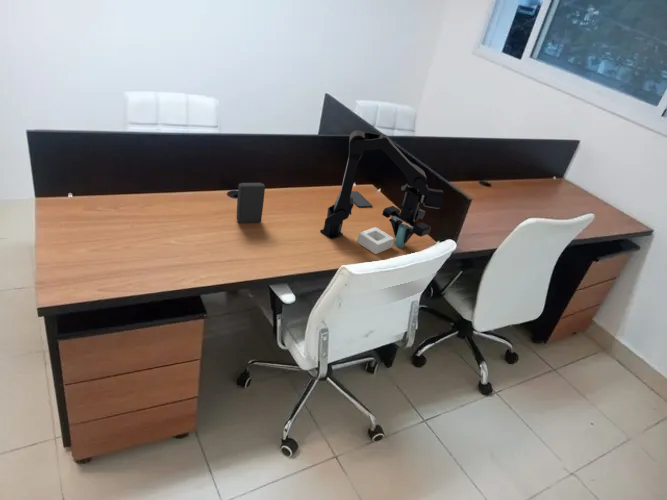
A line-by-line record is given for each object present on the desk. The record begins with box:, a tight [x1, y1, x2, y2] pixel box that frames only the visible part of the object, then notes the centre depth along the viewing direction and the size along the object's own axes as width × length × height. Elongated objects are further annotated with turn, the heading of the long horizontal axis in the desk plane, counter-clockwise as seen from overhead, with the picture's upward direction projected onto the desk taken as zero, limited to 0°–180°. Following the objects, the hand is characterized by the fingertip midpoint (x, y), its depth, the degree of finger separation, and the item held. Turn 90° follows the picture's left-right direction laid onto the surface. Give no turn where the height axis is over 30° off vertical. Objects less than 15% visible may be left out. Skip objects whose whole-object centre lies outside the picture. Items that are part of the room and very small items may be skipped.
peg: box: [393, 223, 410, 249], centre depth 180 cm, size 4×4×8 cm
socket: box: [356, 226, 395, 255], centre depth 178 cm, size 9×9×4 cm
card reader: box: [236, 182, 266, 224], centre depth 174 cm, size 9×4×15 cm, turn 113°
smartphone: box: [350, 190, 373, 209], centre depth 210 cm, size 7×1×15 cm
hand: (400, 240), depth 181 cm, fingers closed on peg, 4 cm apart
